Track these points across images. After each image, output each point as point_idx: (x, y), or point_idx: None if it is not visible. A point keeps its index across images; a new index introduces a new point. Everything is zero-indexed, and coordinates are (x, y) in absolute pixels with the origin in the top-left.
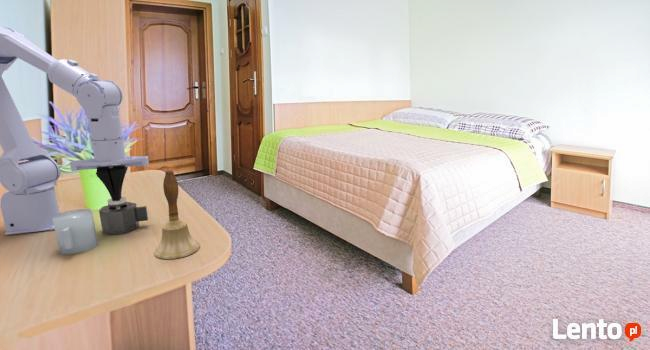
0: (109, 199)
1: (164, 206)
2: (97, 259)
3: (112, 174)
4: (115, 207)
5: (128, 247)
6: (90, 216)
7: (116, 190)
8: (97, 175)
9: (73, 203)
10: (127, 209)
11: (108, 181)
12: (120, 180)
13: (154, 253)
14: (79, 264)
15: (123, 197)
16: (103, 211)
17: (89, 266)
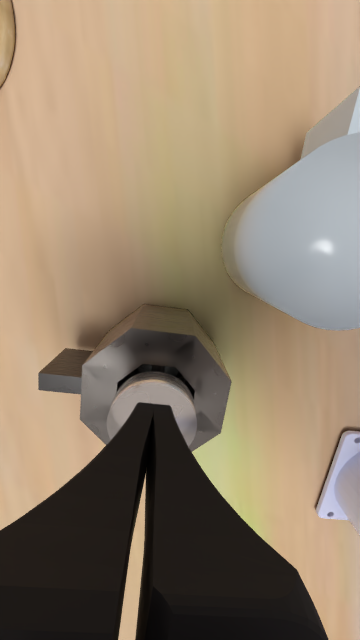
0: (188, 438)
1: None
2: (212, 86)
3: (99, 563)
4: None
5: (119, 154)
6: (263, 206)
7: (132, 435)
8: (293, 575)
9: None
10: (108, 344)
11: (172, 497)
12: (59, 489)
13: (10, 8)
14: (264, 69)
15: None
16: (211, 361)
17: (232, 26)
